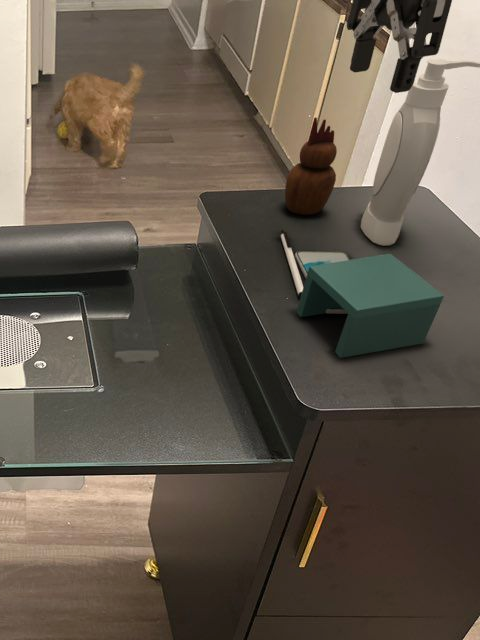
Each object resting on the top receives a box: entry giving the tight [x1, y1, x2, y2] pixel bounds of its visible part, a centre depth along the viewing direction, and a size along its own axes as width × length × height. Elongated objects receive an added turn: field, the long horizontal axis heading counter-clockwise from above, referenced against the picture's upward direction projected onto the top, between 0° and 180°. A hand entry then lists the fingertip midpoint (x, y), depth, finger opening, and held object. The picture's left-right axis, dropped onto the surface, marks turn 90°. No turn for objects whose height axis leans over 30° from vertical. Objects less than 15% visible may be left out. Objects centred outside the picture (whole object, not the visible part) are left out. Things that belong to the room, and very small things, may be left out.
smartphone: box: [294, 250, 351, 315], centre depth 99 cm, size 7×1×15 cm
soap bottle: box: [360, 58, 480, 247], centre depth 101 cm, size 13×8×24 cm, turn 164°
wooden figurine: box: [284, 117, 338, 216], centre depth 110 cm, size 7×6×15 cm
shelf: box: [296, 253, 445, 359], centre depth 89 cm, size 11×10×7 cm
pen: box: [280, 229, 304, 299], centre depth 102 cm, size 1×19×1 cm, turn 170°
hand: (378, 80), depth 88 cm, fingers open, 8 cm apart
